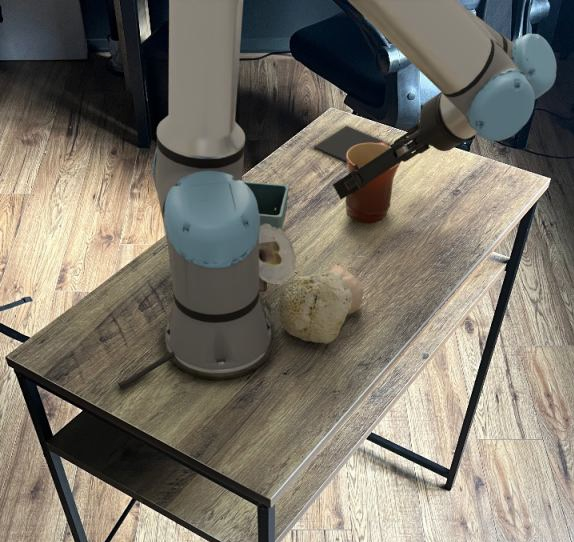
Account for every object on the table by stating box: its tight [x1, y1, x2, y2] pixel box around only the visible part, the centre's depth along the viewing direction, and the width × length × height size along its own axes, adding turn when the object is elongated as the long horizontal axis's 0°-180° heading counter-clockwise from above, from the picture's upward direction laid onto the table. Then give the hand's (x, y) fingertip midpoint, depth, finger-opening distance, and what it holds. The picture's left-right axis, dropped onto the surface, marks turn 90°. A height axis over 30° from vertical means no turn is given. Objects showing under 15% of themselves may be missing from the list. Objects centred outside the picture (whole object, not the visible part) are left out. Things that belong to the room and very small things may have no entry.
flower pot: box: [242, 180, 290, 239], centre depth 129 cm, size 9×9×9 cm
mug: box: [344, 141, 402, 225], centre depth 135 cm, size 12×9×10 cm
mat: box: [313, 125, 390, 163], centre depth 152 cm, size 10×10×1 cm
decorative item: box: [278, 270, 352, 344], centre depth 117 cm, size 12×9×10 cm
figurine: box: [259, 208, 297, 293], centre depth 120 cm, size 11×10×15 cm
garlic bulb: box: [328, 261, 364, 315], centre depth 122 cm, size 7×6×8 cm
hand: (360, 175), depth 136 cm, fingers closed on mug, 12 cm apart
